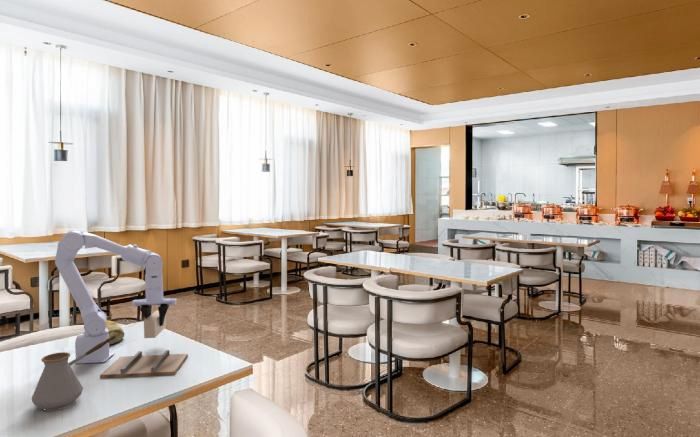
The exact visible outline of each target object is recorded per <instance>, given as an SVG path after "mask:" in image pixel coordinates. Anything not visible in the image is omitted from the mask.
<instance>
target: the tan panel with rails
mask: <svg viewBox="0 0 700 437" xmlns="http://www.w3.org/2000/svg"><path fill="white" fill-rule="evenodd" d="M188 357H189V354H188V353H176V354H175V353H173V354H171V353H170V350H169V349H166V350H165V351H164V353H162V354H151V355H150V354H149V355H143V351H142V350H141V351H137V352H136V353H135V354H134V355H129V356H127V355H126V356H119V357H118V358H117V359H116V360H115V361H114V362H112V363H111V364H110V365H109V366H108V367H107V368H106V369H105V370H104V371H103V372H102V373H100V374H99V379H110V378H111V379H112V378H129V377H131V378H132V377H135V378H136V377H151V376H153V377H154V376H155V377H156V376H169V375H170V376H172V375H176V374H177V373H178V371H179V370H180V368H181V367H182V366H183V364H184V363H185V362H186V360H187V359H188Z"/></svg>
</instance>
